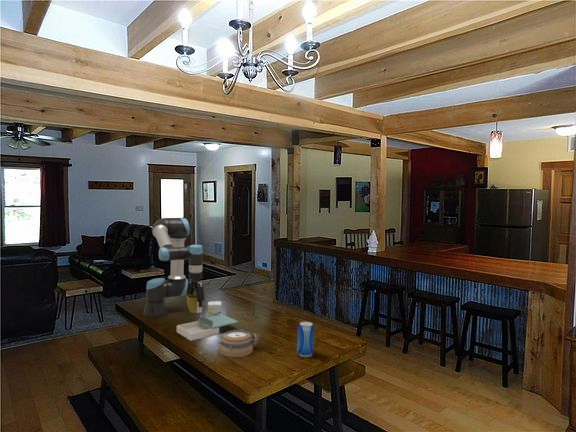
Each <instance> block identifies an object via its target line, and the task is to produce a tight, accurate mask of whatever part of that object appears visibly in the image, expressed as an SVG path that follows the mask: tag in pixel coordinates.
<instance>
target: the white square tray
mask: <svg viewBox="0 0 576 432" xmlns="http://www.w3.org/2000/svg"><path fill="white" fill-rule="evenodd" d="M176 333H177V334H179V335H181V336H182V337H184V338H185V337H186V339H187V340H189V341H190V342H192V341H193V340H194V341H198V340H201V339H206V338H209V337H214V336H218V335H220V327H217V328H211V327H209V326H207V325H205V324H203V323H201V322H199V321H198V320H197V321H196V320H195V321H191V322H187V323H182V324H178V325H176ZM197 339H198V340H197Z"/></svg>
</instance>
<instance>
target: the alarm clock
mask: <svg viewBox="0 0 576 432" xmlns="http://www.w3.org/2000/svg"><path fill="white" fill-rule="evenodd" d="M260 337H261V336H260V334H258V333H255V332H248V331H246V330H244V329H232V330H228V331H226V332H223V335H222V337H221V341H219V342H217V344H219V353H220V354H221V355H222V356H224V357H228V358H242V357H243V358H244V357H246V356H249V355H251V354H252V353H253V351H254V347H255V346H257V344H258V342H259V341H260V340H261V339H260Z"/></svg>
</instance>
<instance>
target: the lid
mask: <svg viewBox="0 0 576 432" xmlns="http://www.w3.org/2000/svg"><path fill="white" fill-rule="evenodd" d="M198 318H199V319H197V321H199V322H201V323H203V324H205V325H207V326H209V327H211V328H217V327H219V328H220V327H224V326H229V325H234V324H238V323H239V321H238V320H236V319H234V318H233V317H232V318H231V317H229V316H227V315H225V314H222V313H221V315H217V316H212V317H208V316H207V317H206V316H204V315H202V314H199V317H198Z"/></svg>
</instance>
